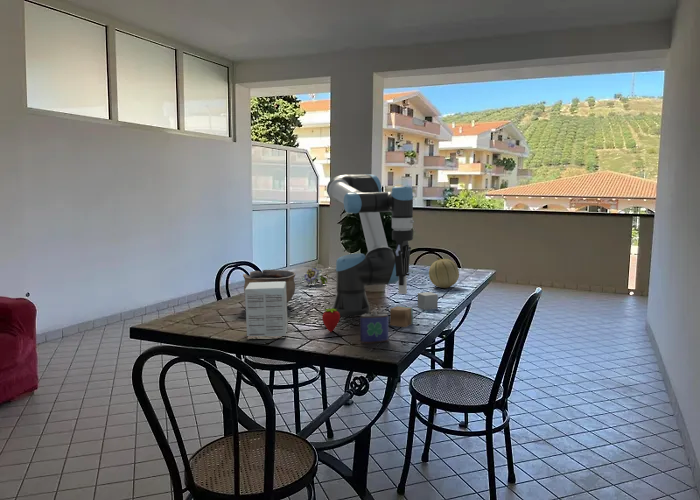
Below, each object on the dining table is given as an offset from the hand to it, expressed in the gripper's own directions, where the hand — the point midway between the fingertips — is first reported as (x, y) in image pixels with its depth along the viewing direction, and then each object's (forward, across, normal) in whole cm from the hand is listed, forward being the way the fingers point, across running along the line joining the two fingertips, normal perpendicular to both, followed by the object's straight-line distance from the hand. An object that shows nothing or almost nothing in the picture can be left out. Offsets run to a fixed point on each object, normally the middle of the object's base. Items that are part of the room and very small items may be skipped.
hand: (402, 293), depth 187 cm
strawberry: (+11, -20, +19) cm, 30 cm away
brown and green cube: (+8, +1, -1) cm, 8 cm away
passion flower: (+13, +59, +68) cm, 91 cm away
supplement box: (+11, -31, +39) cm, 51 cm away
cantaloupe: (+12, +72, +2) cm, 73 cm away
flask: (+11, -26, +1) cm, 28 cm away
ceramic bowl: (+12, +5, +61) cm, 62 cm away
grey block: (+11, +26, -2) cm, 29 cm away
